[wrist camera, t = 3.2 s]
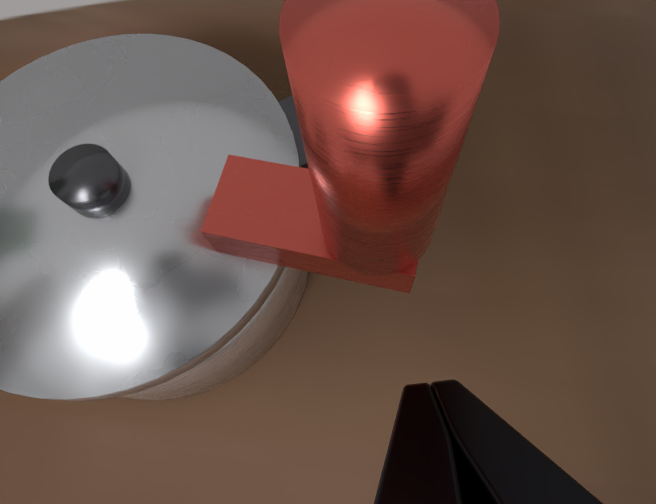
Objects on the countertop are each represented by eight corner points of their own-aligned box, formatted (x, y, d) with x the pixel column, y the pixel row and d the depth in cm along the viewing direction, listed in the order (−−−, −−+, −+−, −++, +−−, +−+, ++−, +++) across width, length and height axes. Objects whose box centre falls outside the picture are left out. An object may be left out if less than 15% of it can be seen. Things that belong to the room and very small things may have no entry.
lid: (-149, 344, 14) (-813, 231, 6) (31, 31, 17) (-233, -284, 10) (378, 492, 11) (403, 620, 4) (454, 94, 15) (545, -257, 7)
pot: (28, 481, 16) (-87, 498, 12) (-29, 223, 20) (-132, 169, 16) (431, 279, 18) (451, 232, 14) (307, 73, 22) (292, -13, 18)
